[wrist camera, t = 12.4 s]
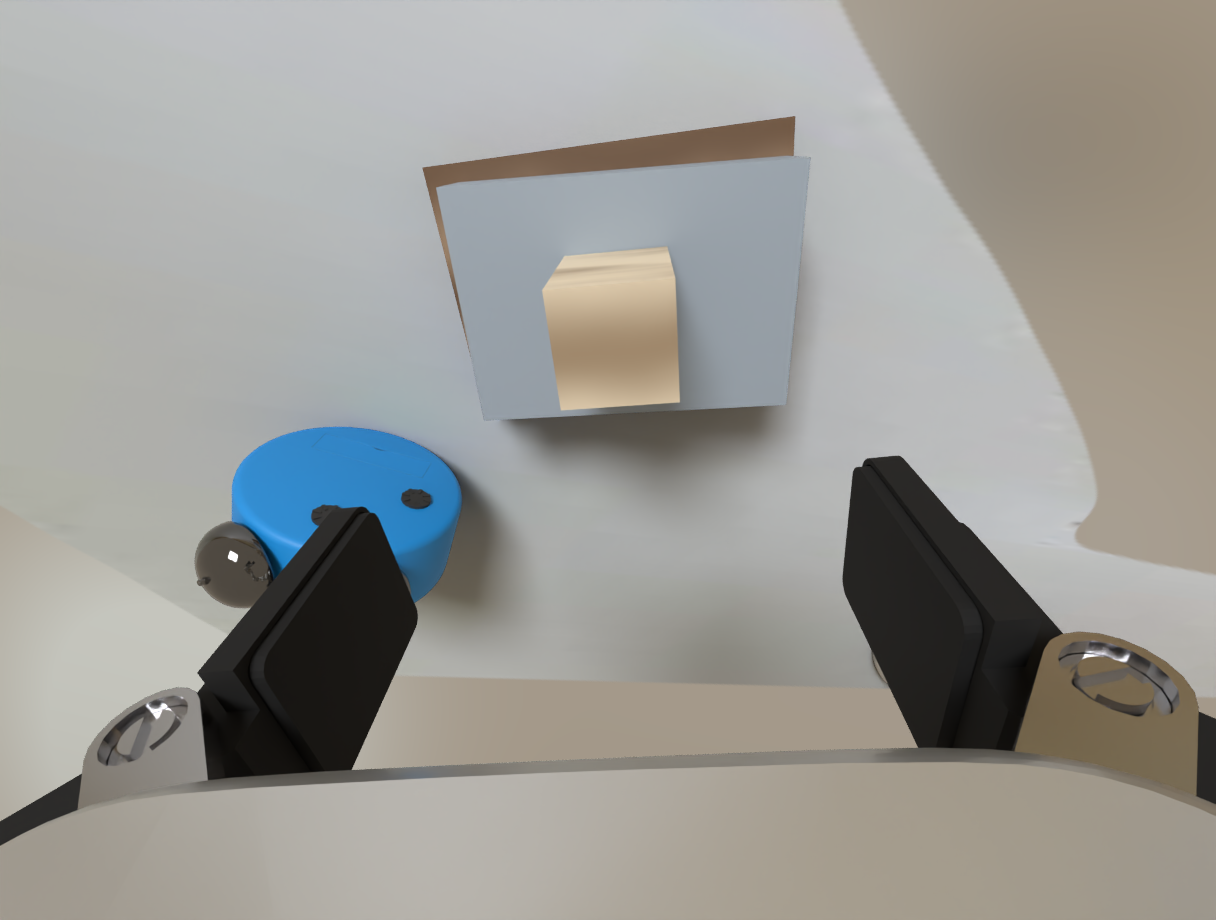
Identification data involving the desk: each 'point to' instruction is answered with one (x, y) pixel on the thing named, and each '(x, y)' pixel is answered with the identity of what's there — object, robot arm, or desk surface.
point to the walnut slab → (619, 159)
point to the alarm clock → (330, 508)
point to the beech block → (614, 329)
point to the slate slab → (626, 220)
